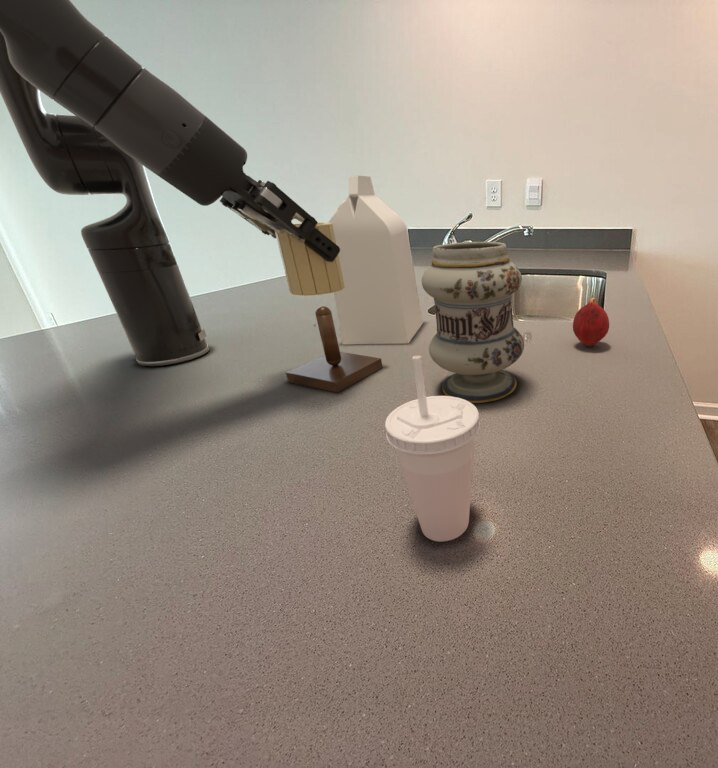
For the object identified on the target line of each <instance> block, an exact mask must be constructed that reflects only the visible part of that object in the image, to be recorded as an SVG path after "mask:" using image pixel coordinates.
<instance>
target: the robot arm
mask: <svg viewBox="0 0 718 768" xmlns="http://www.w3.org/2000/svg"><path fill="white" fill-rule="evenodd" d="M41 93H42V94H44V95H46V96H47V97H48V98H49V99H51V100H53V101H54V102H55V103H57V104H58V105H59V106H61V107H62V108H64V109H66V110H67V111H68V112H70V113H71V114H61V113H60V114H59V113H49V112H47V111H46V109H45V108H44V106H43V102H42V98H41ZM0 96H1V98H2V100H3V102H4V104H5V108H6V109H7V111H8V113H9V115H10V118H11V120H12V122H13V124H14V127H15V129H16V131H17V134H18V136H19V138H20V140H21V142H22V145H23V146H24V149H25V150H26V151H25V152H26V153H27V156H28V157H29V159H30V161H31V163H32V165H33V166H34V168H35V170H36V171H37V173H38V175H39V176H40V177H41V179H42V180H43V181H44V183H45V184H46V185H47V186H48V187H49V188H50V189H51V190H52V191H54V192H56V193H58V194H60V195H66V196H67V195H68V196H89V195H91V196H93V195H94V196H104V195H107V196H109V195H110V196H111V195H123V196H124V197H125V200H126V201H125V204H124V205H123V207H122V208H121V209H119V210H118V211H117V212H116V213H114V214H112V215H111V216H108V217H106V218H104V219H101V220H98V221H96V222H92V223H90V224H87V225H85V226H83V227H82V228H81V230H80V235H81V238H82V240H83V242H84V245H85V247H86V248H87V251H88V253H89V255H90V257H91V260H92V263H93V264H94V267H95V269H96V271H97V273H98V275H99V278H100V280H101V281H102V284H103V287H104V289H105V291H106V293H107V296H108V298H109V300H110V302H111V304H112V306H113V309H114V311H115V313H116V315H117V317H118V319H119V322H120V324H121V326H122V328H123V331H124V332H125V335H126V338H127V339H128V343H129V345H130V347H131V349H132V351H133V353H134V355H135V360H136V362H137V364H138V365H139V366H143V367H163V366H170V365H176V364H180V363H185V362H187V361H190V360H194V359H196V358H199V357H201V356H203V355H205V354H206V353H208V352H209V351H210V347H209V344H208V343H207V341H206V337H207V332H206V330H205V329H204V328H203V329H202V326H201V323H200V320H199V318H198V315H197V313H196V310H195V307H194V303H193V302H192V298H191V296H190V293H189V291H188V288H187V285H186V283H185V279H184V277H183V273H182V271H181V269H180V265H179V263H178V261H177V258H176V255H175V252H174V250H173V246H172V244H171V241H170V237H169V235H168V234H167V230H166V228H165V226H164V223H163V221H162V218H161V215H160V212H159V210H158V207H157V204H156V201H155V198H154V195H153V191H152V188H151V184H150V181H149V178H148V174H147V171H146V169H148V170H149V171H150V172H152V173H153V174H154V175H155V176H158V177H159V178H160V179H162V180H164V181H165V182H166V183H167V184H169V185H171V186H172V187H174V188H175V189H176V190H178V191H179V192H180V193H182V194H184V195H185V196H187V197H188V198H189V199H191V200H192V201H194V202H195V203H196V204H198V205H200V206H205V207H207V206H210V205H212V204H214V203H215V202H216V201H218V200H219V202H220V204H221V205H222V206H224V207H225V208H228V209H229V210H231V211H232V212H233V213H235V215H238V216H239V217H240V218H242V219H244V220H245V221H246V222H248V223H249V224H250V225H252V226H253V227H255V228H256V229H258V230H259V231H261V233H262V234H263V235H267V236H271V237H272V238H273V239H276V235H275V231H276V232H278V233H288V234H289V235H291V236H292V237H294V238H296V239H297V240H298V241H299V242H302V243H304V244H305V245H306V246H307V247H309V248H310V249H311V250H313V251H314V252H315V253H317V254H318V255H319V256H321V257H322V258H323V259H325V260H326V261H329V262H333V261H334V260H335V258H336V257H337V255H338V254H339V252H340V248H339V246H337V245H336V244H335V243H334V242H332V241H331V240H330V239H329V238H327V237H326V236H325V235H324V234H323V233H321V232H320V231H319V230H318V229H316V228H315V227H316V225H317V223H319V222H318V220H317V219H316V218H315V217H313V216H312V215H311V214H310V213H308V212H307V211H306V210H305V209H304V208H303V207H301V206H300V205H299V204H298V203H297V202H296V201H294V200H293V199H292V198H291V197H290V196H289V195H288V194H286V193H285V192H284V191H283V190H282V189H280V188H279V187H278V186H277V184H276V183H274V182H273V181H270V180H267V181H266V182H264V181H263V180H261V179H258V180H255V179H254V178H253V177H251V176H249V175H247V174H246V172H244V166H245V165H246V163H247V160H248V152H247V151H246V149H245V148H244V147H243V146H242V145H240V144H239V143H238V142H237V141H236V140H234V139H233V138H232V137H231V136H230V135H229V134H227V133H226V132H225V131H224V130H223V129H222V128H221V127H219V126H218V125H217V124H216V123H215V122H213V121H212V120H211V119H210V118H209V117H208V116H207V115H205V114H204V113H203V112H202V111H200V110H199V109H198V108H197V107H196V106H195V105H193V104H192V103H191V102H190V101H189V100H187V98H185V97H184V96H183V95H182V94H181V93H179V92H178V91H177V90H176V89H174V88H173V87H172V86H170V85H169V84H167V82H165V81H163V80H162V79H160V78H158V77H157V76H156V75H155V74H153V73H152V72H151V71H149V70H148V69H146V68H145V67H143V65H142V64H140V63H139V62H138V61H137V60H136V59H135V58H133V56H131V55H130V54H129V53H127V52H126V51H125V50H124V49H123V48H122V47H120V46H119V45H118V44H117V43H116V42H114V41H113V40H112V39H111V38H110V37H108V35H106V34H105V33H104V32H103V31H101V30H100V29H99V28H98V27H96V25H94V24H93V23H91V21H89V20H88V19H87V18H86V17H85V15H83V13H82V12H81V11H79V9H78V8H77V7H76V6H75V5H74V4H73V1H71V0H0ZM293 220H297V221H298V222H299V223H302V224H301V225H300V227H299V228H297V227H296V226H295V225H294V222H292V221H293ZM274 230H275V231H274Z"/></svg>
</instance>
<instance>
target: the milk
mask: <svg viewBox="0 0 718 768" xmlns="http://www.w3.org/2000/svg"><path fill="white" fill-rule="evenodd" d="M327 223H332V225H333V230H334V235H335V240H336V245H337V246H339V248H340V252H339V254H338V256H339V261H340V266H341V271H342V276H343V281H344V288H343V289H342V290H340V291H337V292H333V295H334V301H335V303H334V304H335V308H336V315H337V320H338V325H339V327H338V328H339V332H340V338H341V345H343V346H344V345H401V344H402V345H403V344H405V345H406V344H410V342H411V341H412V339H413V338H414V337H415V335H416V334H417V332H418V331H419V330H420V328H421V327H422V325H423V324H424V319H423V314H422V308H421V301H420V297H419V290H418V284H417V278H416V272H415V266H414V260H413V255H412V249H411V242H410V237H409V232H408V227H407V225H406V223H405V221H404V220H403V218H402V217H401V216H400V215H398V213H396V212H395V211H394V210H393V209H392V208H390V206H388V205H387V204H386V203H385V202H383V201H382V199H380V198H379V197H378V196H377V195H376V193H375V190H374V186H373V182H372V177H371V176H368V175H348V196H347V197H346V198H345V199H344V200H343V201H342V202H341V203H340V204H339V205H338V208H337V210H336V211H335V213H334V214H333V215H332V217H331V218H330V219H329V220H328V222H327Z"/></svg>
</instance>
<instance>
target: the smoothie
mask: <svg viewBox="0 0 718 768" xmlns="http://www.w3.org/2000/svg"><path fill="white" fill-rule="evenodd" d="M412 365H413V374H414V381H415V388H416V396H417V398H416V399H413V400H410V401H407V402H405V403H403V404H401V405H399V406H398V407H396V408H395V409H393V410H392V411H391V412H390V413H389V414H388V416H387V417H386V419H385V422H384V428H385V432H386V434H385V437H386V439H387V442H388V444H389V445H391V446H392V447H393V448H394V450H395V453H396V457H397V460H398V463H399V465H400V468H401V471H402V474H403V477H404V481H405V483H406V486H407V490H408V492H409V496H410V499H411V502H412V505H413V508H414V511H415V514H416V517H417V520H418V523H419V526H420V530H421V532H422V534H423V535H424V536H425V537H426V538H427V539H429V540H431V541H434V542H450V541H452V540H455V539H457V538H459V537H461V536H462V535H463V534H464V533H465V532H466V530H467V529H468V527H469V524H470V511H471V497H472V485H473V483H472V482H473V470H474V469H473V468H474V457H475V446H476V436H477V435H478V434H479V433H480V429H481V421H480V414H479V413H480V412H479V410H478V408H477V407H476V406H475V404H474V403H470V402H468V401H466V400H464V399H461V398H457V397H452V396H446V395H431V396H427V392H426V383H425V377H424V368H423V361H422V356H421V355H413V356H412Z"/></svg>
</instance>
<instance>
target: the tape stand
mask: <svg viewBox="0 0 718 768" xmlns="http://www.w3.org/2000/svg"><path fill="white" fill-rule="evenodd" d="M314 315H315V318H316V319H315V320H316V324H317V328H318V331H319V335H320V340H321V345H322V348H323V353H324V355H323V356H320V357H318V358H315V359H314V360H311V361H309V362H307V363H304V364H301V365H299V366H297V367H295V368H293V369H291V370H288V371H286V372H285V374H286V378H287V382H288V383H290V384H295V385H299V386H305V387H309V388H314V389H319V390H324V391H327V392H332V393H333V392H334V393H340V392H342V391H343V390H345V389H347V388H348V387H350V386H352V385H354V384H356V383H358V382H359V381H361V380H363V379H365V378H367V377H369V376H370V375H371V374H374V373H376V372H377V371H379V370H381V369H382V368H384V367H383V360H382V358H381V357H375V356H369V355H362V354H356V353H352V352H345V351H341V350H340V345H339V341H338V336H337V332H336V327H335V323H334V317H333V313H332V310H331V309H330V308H329V307H328V306H325V305H322V306H318V307H317V308H316V309H315V313H314Z"/></svg>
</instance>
